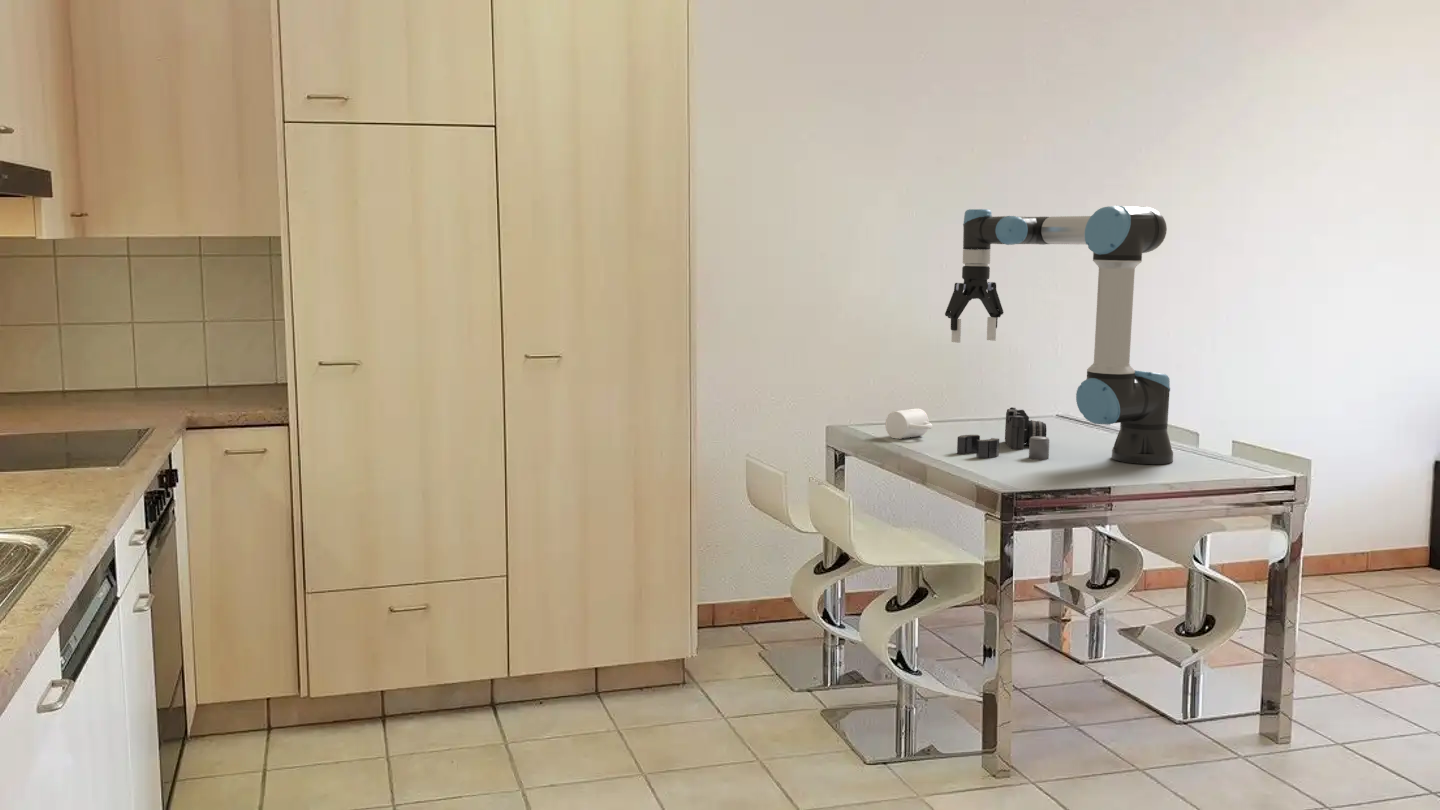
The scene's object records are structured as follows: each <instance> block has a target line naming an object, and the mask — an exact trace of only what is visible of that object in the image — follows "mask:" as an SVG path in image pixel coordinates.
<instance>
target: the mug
mask: <svg viewBox="0 0 1440 810" xmlns="http://www.w3.org/2000/svg"><path fill="white" fill-rule="evenodd" d="M932 428H933V424H932V423H931V422H930V420H929V416H928V414H927V413H926V411H925V410H923V409H921V408H911V409H901V410H896V411H891V412H890V413H889V414H888V415H887V416H886V418H885V430H886V433H887V434H888V436H889V437H890V438H892V439H893V438H899V439H898V440H903V439H902V438H904V439H909V438H910V437H911V438H918V437H921V436H923V435H925V434H926V433H927V432H928V430H930V429H932Z"/></svg>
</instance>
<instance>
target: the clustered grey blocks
mask: <svg viewBox="0 0 1440 810" xmlns="http://www.w3.org/2000/svg"><path fill="white" fill-rule="evenodd" d="M956 440H957V441H956V443H957V445H956V446H957V447H956V454H957V455H966V454H969V453H970V454H971V453H976V458H977V459H992V458H997V457H999V455H1000V438H995V437H991V438H988V439H981V435H979V434H963V435H959V436H957V439H956Z"/></svg>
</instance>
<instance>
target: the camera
mask: <svg viewBox="0 0 1440 810" xmlns="http://www.w3.org/2000/svg"><path fill="white" fill-rule="evenodd" d="M1025 411H1026V410H1024V409H1016V407H1015V406H1014V407H1009V408H1008V409H1007V410H1006V414H1005V427H1004V429H1005V431H1004V442H1005V443H1006V444H1007V446H1008V447H1009V448H1010V449H1011V450H1017V451H1018V450H1019V451H1021V450H1024V448H1025V447H1024V445H1029V442H1030V437H1034V436H1041V437H1047V423H1045V422H1044V421H1040V420H1037V421H1036V420H1034V419H1031V420H1030V417H1029V416H1028V414H1027V413H1026V412H1025Z"/></svg>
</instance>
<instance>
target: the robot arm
mask: <svg viewBox="0 0 1440 810" xmlns="http://www.w3.org/2000/svg"><path fill="white" fill-rule="evenodd" d="M992 213H993V212H992V210H990V209H983V208H981V209H980V208H979V209H975V208H974V209H971V208H970V209H966V210H965V212H964V217H963V224H962V225H963V230H962V231H963V236H962V238H963V240H962V264H964V265H963V266H962V269H961V271H962V272H961V278H962V280H963V282H954V288H953V291H952V294H951V297H950V300H949V302H948V304H947V307H946V310H945V312H944V316H945V317H947V318H948V319H950V330H951V343H958V344H959V343H961V332H962V331H961V329H962V328H961V327H962V318H960V317H961V315H962V313H963V312H964V310H965V308H966V307H967V306H968V304H969V302H971V301H972V300H974V299H975V300H977V299H978V300H979V301H981V303H982V304H983V306H984V309H985V310H986V311H987V313H988V315H989V316H987V321H986V323H987V327H986V341H992V342H993V341H996V340H997V339H996V337H997V328H998V318H1001V316H1002V315H1004V309H1003V306H1002V303H1001V301H1000V296H999V294H998V291H997V282H995V281H994V282H993V281H988V280H989V279H990V273H991V271H990V270H991V269H990V266H989V265H990V263H991V245H1007V246H1009V245H1010V246H1011V245H1012V246H1014V245H1087V247H1088V249H1089V250H1090V251H1091V252H1092V261H1093V263H1095V265H1096V266H1097V268H1098V276H1097V277H1098V278H1097V294H1096V295H1097V298H1096V311H1095V312H1096V315H1095V333H1094V352H1093V353H1094V354H1093V363H1092V364H1091V365H1090V366H1089V367H1087V369H1086V379H1085V380H1083V381H1082V382H1081V383H1080V385H1078V387H1077V390H1076V393H1075V400H1076V405H1077V408H1078V411H1079V412H1080V414H1082V415H1083V418H1085V419H1086V420H1087V421H1088V422H1090V423H1092V424H1094V425H1109V426H1110V425H1113V424H1119V423H1120V426H1119V431H1118V433H1117V436H1116V439H1115V442H1114V444H1113V447H1112V448H1111V449H1112V450H1111V459H1113V460H1115V461H1119V462H1123V463H1128V464H1136V465H1137V464H1138V465H1165V464H1171V463H1173V462H1174V451H1173V450H1172V449H1173V448H1172V444H1171V440H1170V436H1169V434H1168V433H1169V432H1168V424H1169V423H1168V422H1169V409H1170V408H1169V405H1170V392H1171V387H1170V386H1171V385H1170V377H1169V375H1167V374H1166V373H1159V372H1151V371H1144V370H1143V371H1142V370H1134V368H1133V367H1132V366H1131V364H1130V361H1131V360H1130V358H1131V356H1130V354H1131V342H1132V341H1131V340H1132V322H1133V321H1132V320H1133V309H1134V308H1133V306H1134V304H1133V303H1134V291H1135V290H1134V289H1135V286H1134V285H1135V270H1136V267H1137V266H1139V264H1141V263H1142V261H1143V260H1142V258H1143V254H1146V253H1149V252H1150V253H1151V252H1152V251H1154V250H1156V249H1157V248H1159V247H1160V246H1161V245H1162V243H1164V241H1165V239H1166V236H1167V222H1166V220H1165V218H1164V216H1163V215H1162V214H1161V213H1160V212H1159V211H1158V210H1157V209H1154V208H1152V207H1149V206H1135V205H1134V206H1131V205H1130V206H1128V205H1117V204H1116V205H1110V206H1108V205H1107V206H1104V207H1103V206H1102V207H1101V208H1100V207H1099V208H1098V209H1097V210H1096V211H1095V212H1093V214H1092V215H1077V216H1076V215H1073V216H1071V215H1070V216H1061V215H1060V216H1016V215H1003V216H993V215H992Z"/></svg>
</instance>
